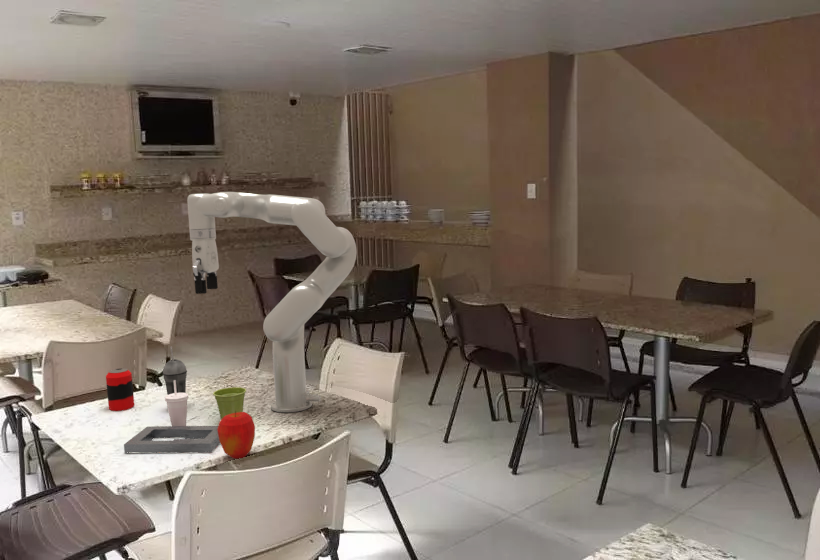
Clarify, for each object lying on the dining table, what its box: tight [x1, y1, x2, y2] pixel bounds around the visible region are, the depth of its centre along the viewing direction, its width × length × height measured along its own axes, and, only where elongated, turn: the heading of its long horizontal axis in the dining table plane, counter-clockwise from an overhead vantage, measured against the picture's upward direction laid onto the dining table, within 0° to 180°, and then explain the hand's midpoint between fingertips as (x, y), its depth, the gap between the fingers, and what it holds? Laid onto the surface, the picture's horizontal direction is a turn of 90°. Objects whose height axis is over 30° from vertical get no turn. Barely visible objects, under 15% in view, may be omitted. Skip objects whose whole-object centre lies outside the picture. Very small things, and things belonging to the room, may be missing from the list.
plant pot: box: [212, 386, 247, 421], centre depth 209 cm, size 9×9×9 cm
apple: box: [217, 411, 256, 460], centre depth 180 cm, size 9×9×12 cm
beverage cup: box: [162, 346, 188, 396], centre depth 222 cm, size 7×7×20 cm
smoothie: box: [164, 380, 190, 426], centre depth 203 cm, size 6×6×14 cm
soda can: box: [105, 367, 135, 412], centre depth 226 cm, size 8×8×12 cm
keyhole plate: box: [123, 425, 221, 454], centre depth 192 cm, size 23×14×2 cm, turn 86°
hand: (206, 291), depth 218 cm, fingers open, 9 cm apart
